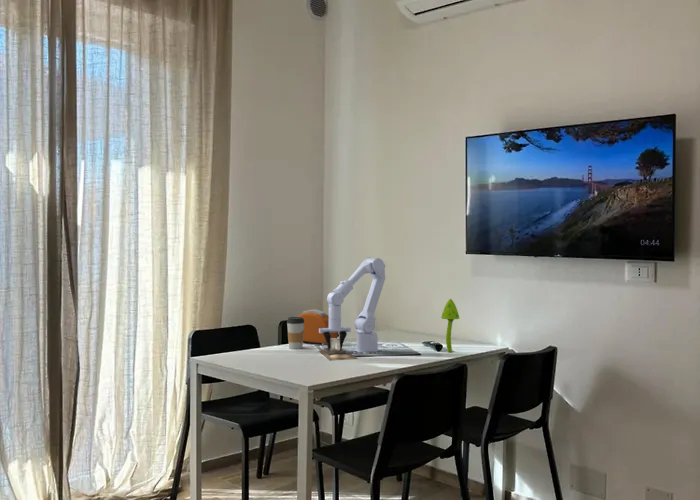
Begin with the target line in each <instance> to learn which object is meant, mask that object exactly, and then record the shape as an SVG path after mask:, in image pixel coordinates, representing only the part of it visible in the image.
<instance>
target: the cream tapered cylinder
mask: <svg viewBox="0 0 700 500" xmlns="http://www.w3.org/2000/svg"><path fill="white" fill-rule="evenodd" d="M329 350H330V351H336V350H340V338H338V337H337V338H331V339H330V349H329Z"/></svg>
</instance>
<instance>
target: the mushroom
mask: <svg viewBox="0 0 700 500" xmlns="http://www.w3.org/2000/svg"><path fill="white" fill-rule="evenodd" d="M440 317H441V319H443V320H447V321H448V322H447V328H446V335H445V341H446V349H447V352H448V353H453V348H452V328H453V321H454V320H460V315H459V311H458V308H457V306H456V304H455V301H453V300H452V298H449V299H448V300H447V301H446V304H445V306H444V308H443V310H442V314H441V316H440Z"/></svg>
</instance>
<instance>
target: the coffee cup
mask: <svg viewBox="0 0 700 500" xmlns="http://www.w3.org/2000/svg"><path fill="white" fill-rule="evenodd" d="M286 325H287V340H288V348H289V349H290V350H301V349H303V346H304V345H303V343H304V341H303V334H304V319H303V317H298V316H289V317H287V320H286Z"/></svg>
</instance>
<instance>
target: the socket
mask: <svg viewBox="0 0 700 500" xmlns="http://www.w3.org/2000/svg"><path fill="white" fill-rule="evenodd" d="M323 350H324V352H325V353H326V354H328V355H335V354H346V351H347V350H346V349H345V348H343V347H342V348H340V350H336V351H330V350H329V349H328V347H324V348H323Z"/></svg>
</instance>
